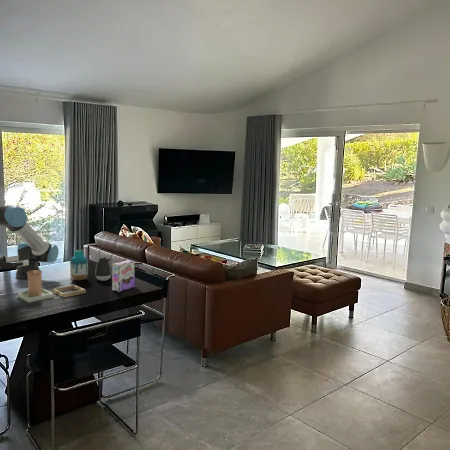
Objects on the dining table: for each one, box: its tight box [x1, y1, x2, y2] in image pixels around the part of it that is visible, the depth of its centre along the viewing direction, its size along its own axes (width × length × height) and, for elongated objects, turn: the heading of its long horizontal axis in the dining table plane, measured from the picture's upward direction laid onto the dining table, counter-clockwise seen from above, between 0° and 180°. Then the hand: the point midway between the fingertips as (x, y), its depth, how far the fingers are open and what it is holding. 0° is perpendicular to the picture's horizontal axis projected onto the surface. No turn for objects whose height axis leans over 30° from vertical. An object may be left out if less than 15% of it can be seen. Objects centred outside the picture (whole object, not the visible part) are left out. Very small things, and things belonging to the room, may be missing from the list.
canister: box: [27, 269, 43, 297], centre depth 252 cm, size 8×8×14 cm
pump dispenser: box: [95, 256, 112, 282], centre depth 292 cm, size 10×10×15 cm
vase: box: [70, 249, 89, 281], centre depth 290 cm, size 11×11×19 cm
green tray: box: [17, 287, 54, 304], centre depth 253 cm, size 14×14×2 cm
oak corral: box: [52, 284, 87, 298], centre depth 263 cm, size 14×14×2 cm
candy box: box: [111, 259, 136, 293], centre depth 272 cm, size 14×6×16 cm, turn 148°
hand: (23, 260), depth 247 cm, fingers open, 13 cm apart
